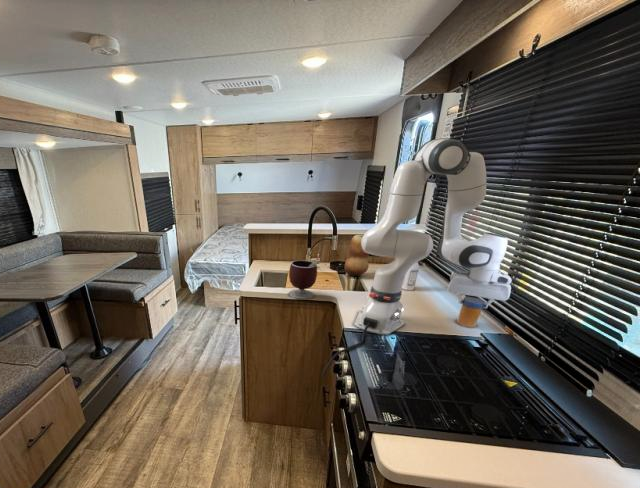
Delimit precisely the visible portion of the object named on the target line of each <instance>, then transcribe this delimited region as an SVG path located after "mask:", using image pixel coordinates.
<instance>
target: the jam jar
mask: <svg viewBox="0 0 640 488" xmlns="http://www.w3.org/2000/svg"><path fill="white" fill-rule="evenodd" d="M482 309H483V308H481V309H475V308H470V307H467V306H464V305H463V304H461V307H460V310H459V313H458V316H457V319H456V323H457V324H458V325H459V326H462V327H466V328H475V327H476V326H477V325H478V324H477V323H478V322H479V318H480V316H481V312H482Z"/></svg>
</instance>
